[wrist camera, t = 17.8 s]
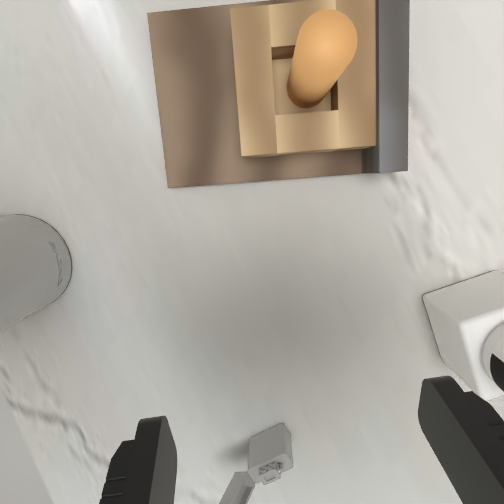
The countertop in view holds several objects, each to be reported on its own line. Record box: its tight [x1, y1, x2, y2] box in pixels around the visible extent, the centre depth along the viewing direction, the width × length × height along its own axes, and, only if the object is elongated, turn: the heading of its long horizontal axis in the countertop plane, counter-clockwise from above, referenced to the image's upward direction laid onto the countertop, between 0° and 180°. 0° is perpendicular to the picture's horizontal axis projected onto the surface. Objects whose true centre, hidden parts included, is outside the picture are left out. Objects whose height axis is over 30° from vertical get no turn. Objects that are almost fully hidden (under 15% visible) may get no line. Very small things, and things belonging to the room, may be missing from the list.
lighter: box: [219, 423, 293, 504], centre depth 35 cm, size 7×2×8 cm, turn 120°
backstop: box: [147, 0, 410, 188], centre depth 29 cm, size 20×14×6 cm
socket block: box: [230, 0, 376, 158], centre depth 28 cm, size 10×10×4 cm
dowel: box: [287, 9, 358, 108], centre depth 24 cm, size 3×3×10 cm
